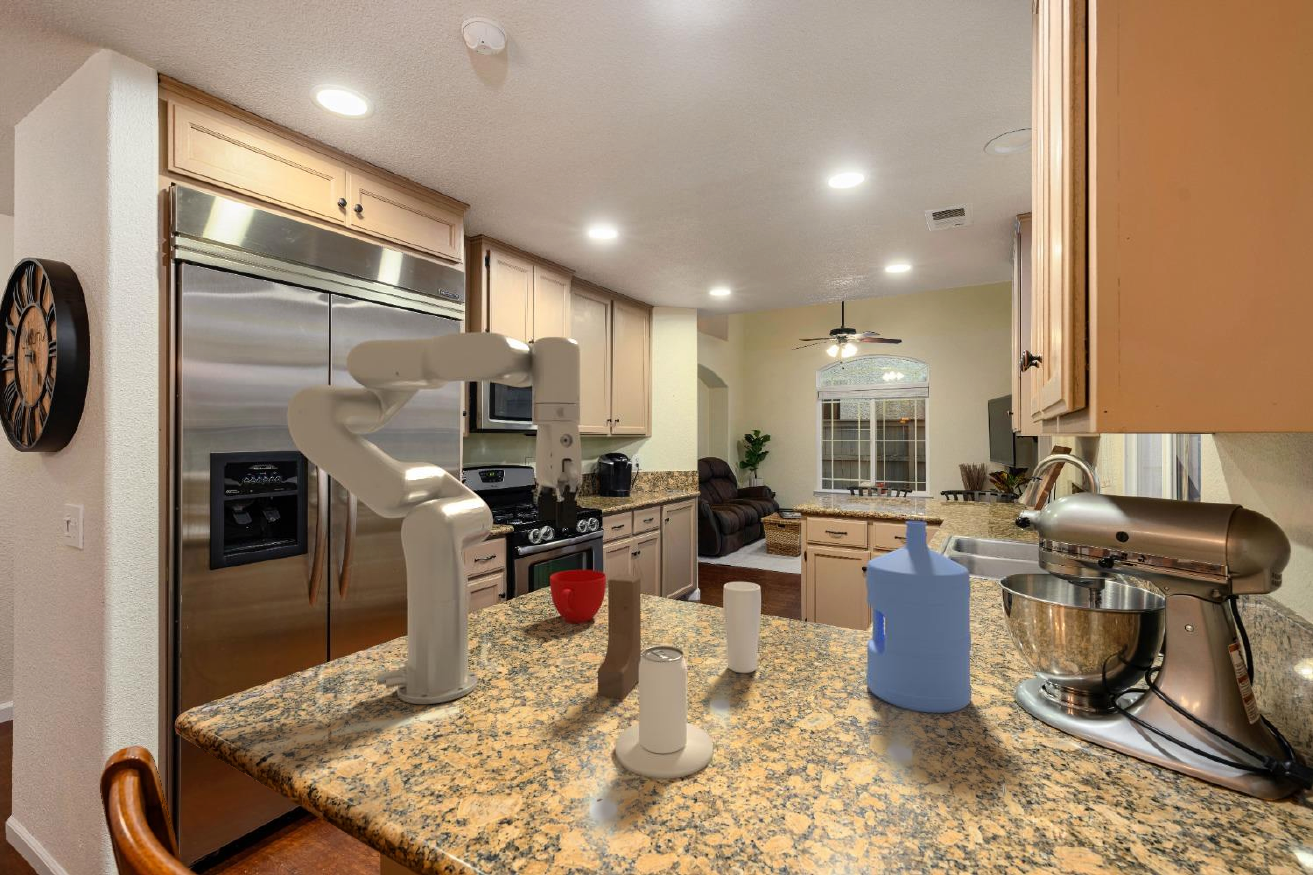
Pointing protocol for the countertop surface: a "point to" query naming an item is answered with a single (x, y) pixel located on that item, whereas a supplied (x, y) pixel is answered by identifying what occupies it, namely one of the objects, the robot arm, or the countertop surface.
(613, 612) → the wooden block
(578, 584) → the ceramic cup
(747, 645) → the drinking glass
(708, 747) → the white dome
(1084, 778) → the countertop surface
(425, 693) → the robot arm
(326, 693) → the countertop surface
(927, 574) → the water jug
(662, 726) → the can
